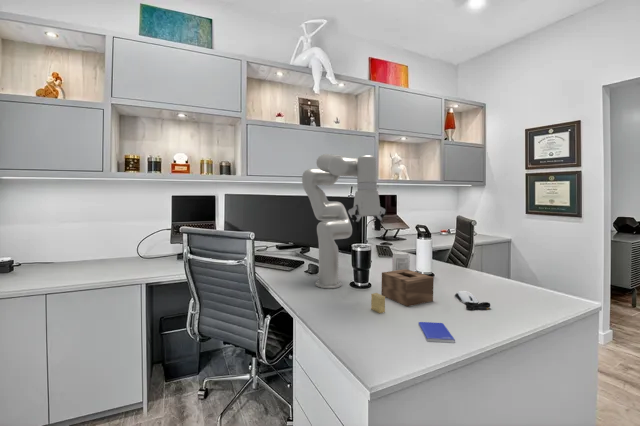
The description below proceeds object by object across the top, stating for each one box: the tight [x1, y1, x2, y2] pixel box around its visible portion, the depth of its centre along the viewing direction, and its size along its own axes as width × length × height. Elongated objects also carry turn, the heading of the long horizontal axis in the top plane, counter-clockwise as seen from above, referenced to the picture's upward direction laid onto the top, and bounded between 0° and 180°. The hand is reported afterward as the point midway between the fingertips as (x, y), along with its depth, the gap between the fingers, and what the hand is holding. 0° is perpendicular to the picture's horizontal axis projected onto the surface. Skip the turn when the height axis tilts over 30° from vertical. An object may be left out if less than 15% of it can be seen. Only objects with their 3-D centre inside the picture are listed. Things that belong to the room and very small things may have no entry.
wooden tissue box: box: [380, 269, 435, 307], centre depth 134 cm, size 16×14×10 cm
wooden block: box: [370, 292, 386, 314], centre depth 120 cm, size 5×2×6 cm, turn 28°
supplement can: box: [391, 251, 411, 271], centre depth 158 cm, size 8×8×15 cm
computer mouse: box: [454, 290, 491, 311], centre depth 130 cm, size 10×18×4 cm, turn 2°
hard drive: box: [417, 321, 456, 344], centre depth 101 cm, size 2×8×12 cm
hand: (367, 231), depth 125 cm, fingers open, 9 cm apart
